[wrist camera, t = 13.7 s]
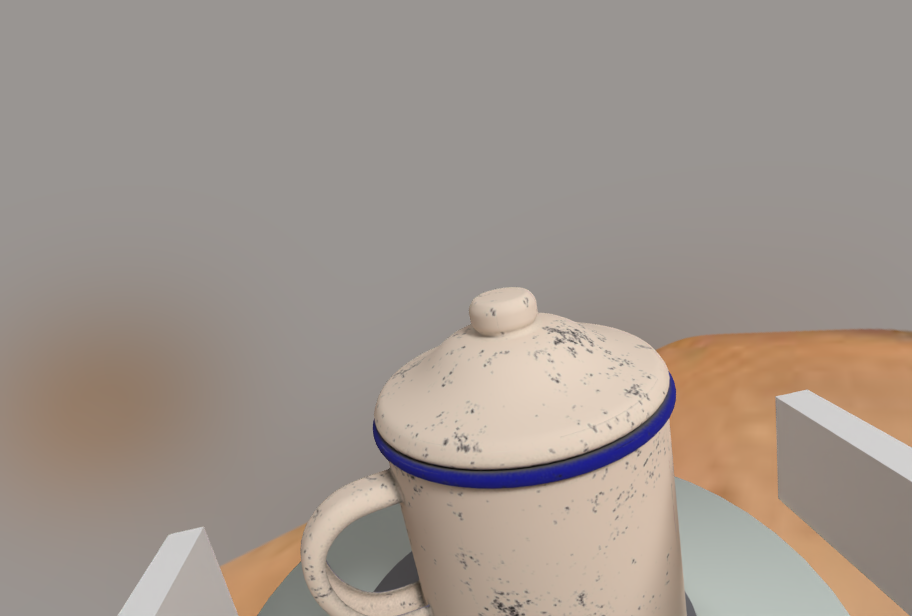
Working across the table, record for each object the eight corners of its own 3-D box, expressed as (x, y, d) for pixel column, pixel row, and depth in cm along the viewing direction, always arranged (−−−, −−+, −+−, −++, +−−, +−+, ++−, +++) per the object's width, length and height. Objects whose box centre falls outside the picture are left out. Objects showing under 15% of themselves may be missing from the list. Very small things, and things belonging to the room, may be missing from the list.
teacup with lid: (591, 494, 24) (555, 244, 21) (765, 652, 16) (750, 278, 13) (331, 605, 21) (242, 328, 18) (377, 881, 12) (225, 450, 9)
